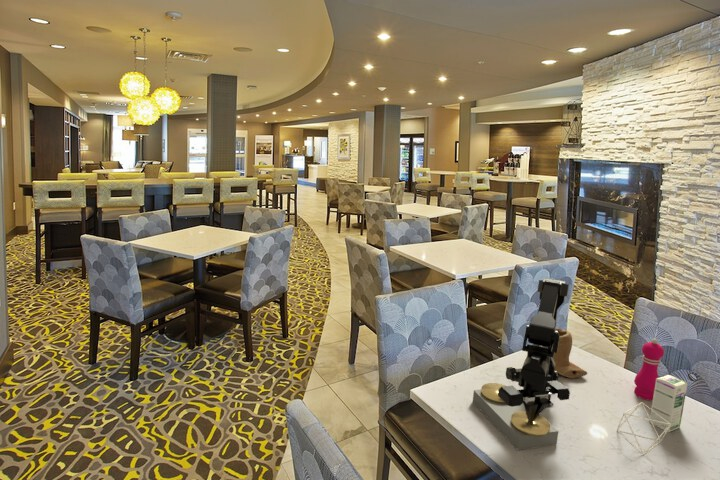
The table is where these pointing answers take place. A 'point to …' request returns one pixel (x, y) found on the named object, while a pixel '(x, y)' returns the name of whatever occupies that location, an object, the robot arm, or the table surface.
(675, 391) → the syrup box
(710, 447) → the table surface
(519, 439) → the panel
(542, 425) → the knob
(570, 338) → the tan boot
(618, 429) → the geometric polyhedron
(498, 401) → the knob
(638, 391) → the pepper mill
